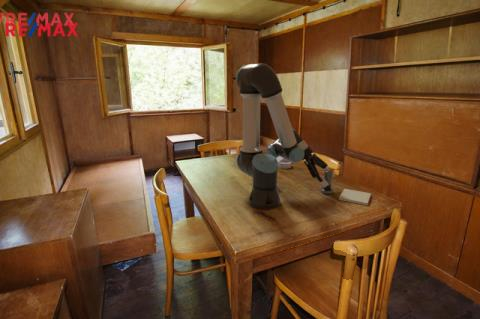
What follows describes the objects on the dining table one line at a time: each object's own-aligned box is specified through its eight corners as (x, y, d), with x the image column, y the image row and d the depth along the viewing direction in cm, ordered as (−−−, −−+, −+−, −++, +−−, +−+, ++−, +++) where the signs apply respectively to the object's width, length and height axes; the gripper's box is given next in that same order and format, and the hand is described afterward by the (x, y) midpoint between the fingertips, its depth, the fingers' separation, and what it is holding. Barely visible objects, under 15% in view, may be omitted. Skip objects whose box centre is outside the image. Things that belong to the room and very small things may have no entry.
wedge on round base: (274, 163, 194) (279, 168, 182) (275, 154, 192) (280, 159, 180) (287, 162, 196) (292, 168, 183) (287, 153, 194) (293, 158, 181)
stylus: (331, 195, 139) (333, 173, 136) (319, 193, 143) (320, 171, 139) (334, 191, 145) (336, 170, 141) (322, 189, 148) (324, 168, 144)
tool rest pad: (367, 205, 128) (367, 203, 128) (338, 199, 134) (339, 197, 134) (370, 195, 139) (371, 193, 138) (344, 190, 145) (344, 188, 145)
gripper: (300, 152, 132) (329, 185, 129) (315, 141, 153) (340, 170, 150) (289, 160, 137) (317, 193, 133) (305, 149, 157) (330, 177, 154)
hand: (329, 181), depth 142 cm, fingers open, 13 cm apart
